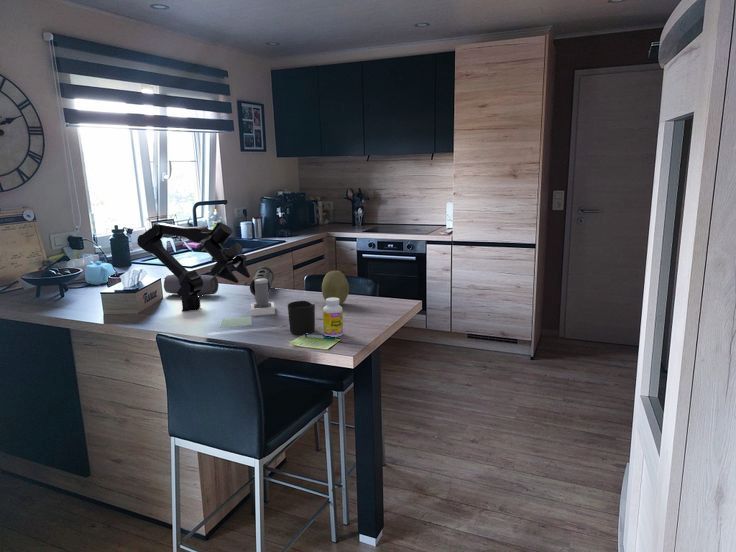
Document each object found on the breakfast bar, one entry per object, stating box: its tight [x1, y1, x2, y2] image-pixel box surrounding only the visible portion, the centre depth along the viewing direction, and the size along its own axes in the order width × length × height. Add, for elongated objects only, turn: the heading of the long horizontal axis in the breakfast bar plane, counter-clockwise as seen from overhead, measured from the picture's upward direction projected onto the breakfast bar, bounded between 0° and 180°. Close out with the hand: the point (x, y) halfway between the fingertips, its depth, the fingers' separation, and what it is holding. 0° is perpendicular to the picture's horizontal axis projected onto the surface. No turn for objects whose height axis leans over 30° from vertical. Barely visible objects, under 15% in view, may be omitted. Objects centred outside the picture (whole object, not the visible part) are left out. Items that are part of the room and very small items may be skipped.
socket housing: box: [250, 301, 276, 317], centre depth 201 cm, size 9×9×4 cm
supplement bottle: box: [322, 297, 344, 338], centre depth 173 cm, size 7×7×13 cm
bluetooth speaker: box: [163, 274, 219, 297], centre depth 232 cm, size 23×9×10 cm, turn 80°
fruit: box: [321, 269, 350, 306], centre depth 211 cm, size 11×11×15 cm
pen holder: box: [287, 300, 316, 336], centre depth 178 cm, size 9×9×10 cm
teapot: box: [84, 260, 116, 286], centre depth 262 cm, size 12×18×12 cm
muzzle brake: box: [249, 265, 275, 297], centre depth 237 cm, size 10×28×10 cm, turn 7°
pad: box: [220, 316, 253, 328], centre depth 189 cm, size 11×11×1 cm
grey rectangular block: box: [254, 278, 270, 308], centre depth 200 cm, size 5×5×13 cm
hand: (243, 279), depth 201 cm, fingers open, 9 cm apart
